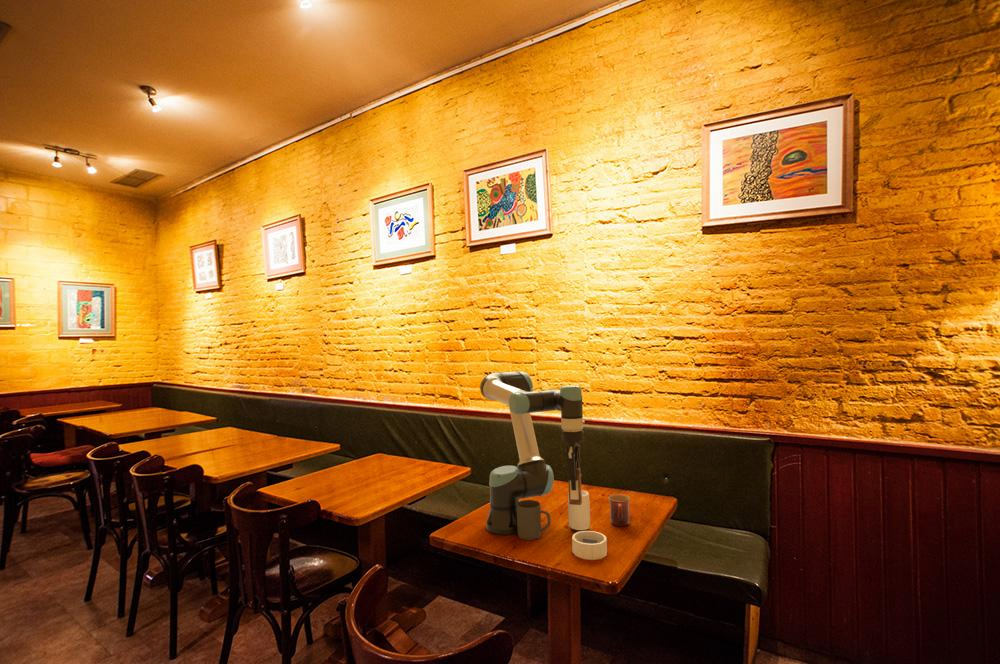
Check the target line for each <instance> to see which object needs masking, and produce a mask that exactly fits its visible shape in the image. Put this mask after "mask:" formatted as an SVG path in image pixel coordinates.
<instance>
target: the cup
mask: <svg viewBox="0 0 1000 664" xmlns="http://www.w3.org/2000/svg"><path fill="white" fill-rule="evenodd" d="M581 491H582V504H581V505H573V504H569V492H567V493H568V496H567V498H568V499H567V511H568V524H569V527H570V529H572V530H575V531H587V530H588V529H590V527H591V505H590V504H591V502H590V494H589V492H588V491H587V490H582V489H581Z"/></svg>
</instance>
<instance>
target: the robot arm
mask: <svg viewBox="0 0 1000 664" xmlns="http://www.w3.org/2000/svg"><path fill="white" fill-rule="evenodd" d="M533 388H534V385H533V381H532V379H531V376H530V375H529V374H528V373H526V372H525V371H518V370H517V371H516V370H515V371H506V372H503V371H502V372H492V373H489V374H487V375H486V376H484V377H483V378H482V379H481V381H480V384H479V391H480V393H481V395H482V396H483V397H484V398H485V399H487V400H490V401H497V402H499V403H502V404H504V405H506V406H507V407H508V409H509V414H510V419H511V423H512V428H513V433H514V438H515V442H516V448H517V452H518V458H519V461H518V463H517V466H516V465H512V464H511V465H502V466H499V467H497V468H494V469H493V470H491V472H490V474H489V480H488V481H489V482H488V485H489V505H490V506H489V507H490V508H489V510H488V515H487V518H486V523H485V524H486V525H485V526H486V530H487V531H488V532H489V533H492V534H493V535H501V536H502V535H503V536H505V535H507V536H508V535H514V534H518V531H517V503H518V502H520V500H521V499H522V500H523V499H529V498H535V497H541V496H544V495H549V493H551V491H552V489H553V486H554V481H555V480H554V479H555V476H554V471H553V469H552V467H551V465H548V464H546V461H545V458H542V456H540V452H539V447H538V443H537V438H536V433H535V429H534V424H533V420H532V415H531V414H532V413H540V412H542V413H543V412H553V411H559V412H560V413H561V414H560V415H561V416H560V417H561V424H560V426H561V430H562V431H561V440H562V442H564V443H567V446H566V453H565V455H566V463H567V481H568V480H570V497H571V499H575V500H579V494H578V480H577V468H581V446H580V445H579V443H582V442H584V441H585V437H584V436H585V435H584V430H583V429H584V424H585V422H586V421H585V420H583V419H584V418H583V415H584V413H583V410H584V409H583V395H582V394H583V393H582V388H581V386H579V385H562V386H560V388H559V389H556V388H553V389H551V388H550V389H548V390H538V391H537V390H536V391H534V389H533ZM582 477H583V474H581V478H582Z"/></svg>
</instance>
